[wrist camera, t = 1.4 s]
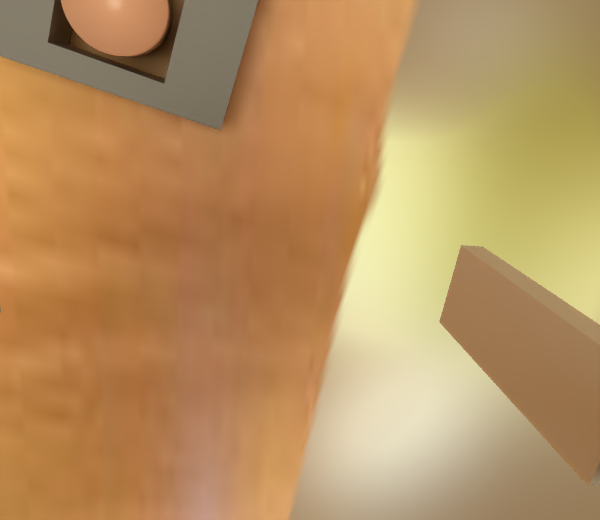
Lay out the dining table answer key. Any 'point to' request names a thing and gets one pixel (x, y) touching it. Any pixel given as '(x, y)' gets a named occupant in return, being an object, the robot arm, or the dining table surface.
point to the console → (132, 82)
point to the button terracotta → (120, 24)
